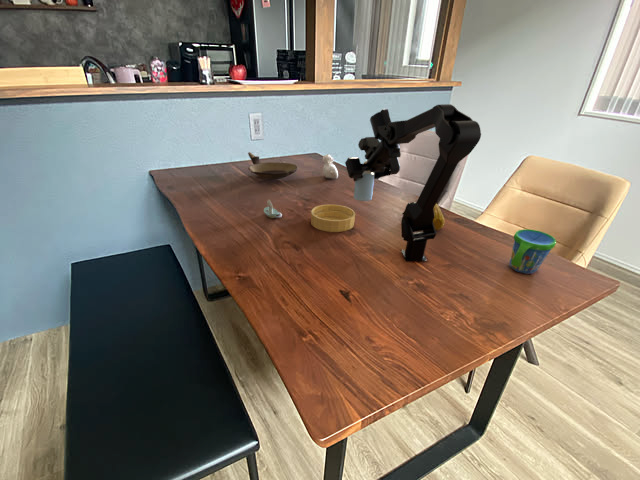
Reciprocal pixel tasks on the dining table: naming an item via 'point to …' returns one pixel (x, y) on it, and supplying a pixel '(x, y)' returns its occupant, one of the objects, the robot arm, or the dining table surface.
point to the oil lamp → (271, 168)
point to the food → (438, 218)
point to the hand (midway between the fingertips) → (362, 179)
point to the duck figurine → (329, 167)
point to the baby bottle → (364, 186)
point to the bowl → (332, 218)
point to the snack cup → (530, 250)
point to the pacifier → (271, 211)
